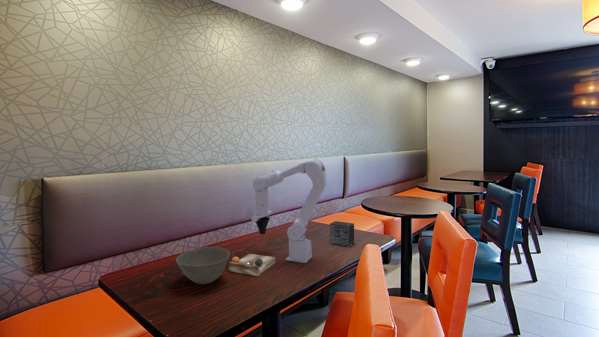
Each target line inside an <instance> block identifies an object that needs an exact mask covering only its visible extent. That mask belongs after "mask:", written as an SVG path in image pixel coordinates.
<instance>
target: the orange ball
mask: <svg viewBox="0 0 599 337" xmlns="http://www.w3.org/2000/svg"><path fill="white" fill-rule="evenodd" d="M239 260H240V258H239V257H238V256H233V257H232V258H231V262H235V263H239Z"/></svg>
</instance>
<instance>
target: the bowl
mask: <svg viewBox="0 0 599 337" xmlns="http://www.w3.org/2000/svg"><path fill="white" fill-rule="evenodd" d="M230 255H231V252H230V250H228V248H227V249H226V248H223V247H218V246H203V247H197V248H193V249H189V250H186V251H184V252H181V253H180V254H179V255H178V256H177V257H176V258H175V262H176V264H177V265H178V267H179V269H180V270H181V272H182V273H183V274H184V275H185V277H187V278H188V280H190V281H192V282H193V283H196V284H199V285H209V284H211V283H213V282H215V281H216V280H217V279H218V278H219V277H220V276H221V275H222V274H223V272H224V270H225V268H226V267H227V263H228V261H229V258H230V257H231V256H230Z"/></svg>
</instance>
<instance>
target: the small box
mask: <svg viewBox="0 0 599 337" xmlns="http://www.w3.org/2000/svg"><path fill="white" fill-rule="evenodd" d="M329 225H330V226H329V228H330V229H329V233H330V236H329V240H330V243H333V244H332V245H334V244H338V245H337V246H340V245H344V246H343V247H346V246H350V245H351V244H353V243H354V244H355V223H354V222H353V223H352V222H345V221H337V220H335V221H333V222H330V224H329ZM354 244H353V245H354ZM350 247H351V246H350Z"/></svg>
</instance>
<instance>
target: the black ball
mask: <svg viewBox="0 0 599 337" xmlns="http://www.w3.org/2000/svg"><path fill="white" fill-rule="evenodd" d="M255 264H256V266H261V265H262V264H263V261H262V259H260V258H258V259H256V261H255Z"/></svg>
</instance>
